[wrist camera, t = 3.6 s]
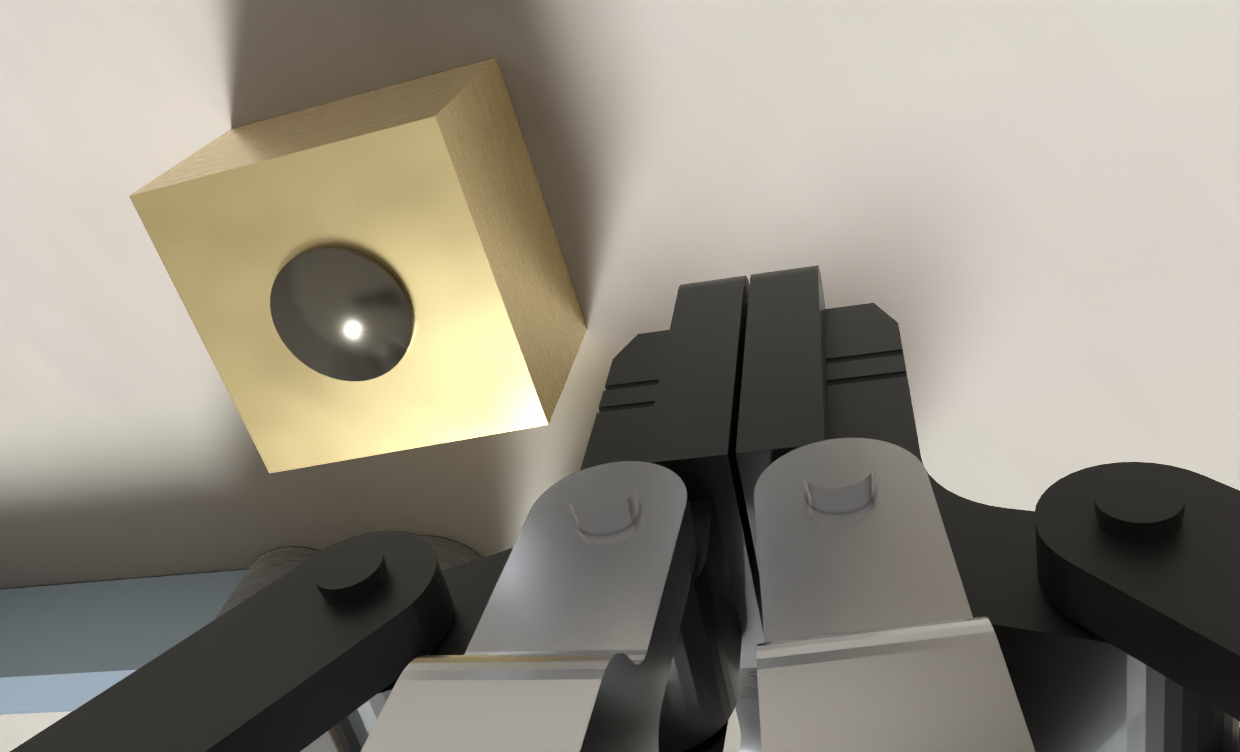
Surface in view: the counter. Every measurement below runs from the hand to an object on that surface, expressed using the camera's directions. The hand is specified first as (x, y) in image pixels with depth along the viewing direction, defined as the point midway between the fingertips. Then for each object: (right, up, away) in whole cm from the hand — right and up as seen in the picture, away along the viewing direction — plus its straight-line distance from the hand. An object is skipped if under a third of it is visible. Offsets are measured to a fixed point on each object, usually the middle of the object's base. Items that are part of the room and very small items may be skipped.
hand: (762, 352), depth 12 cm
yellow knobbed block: (-5, +2, +8) cm, 10 cm away
